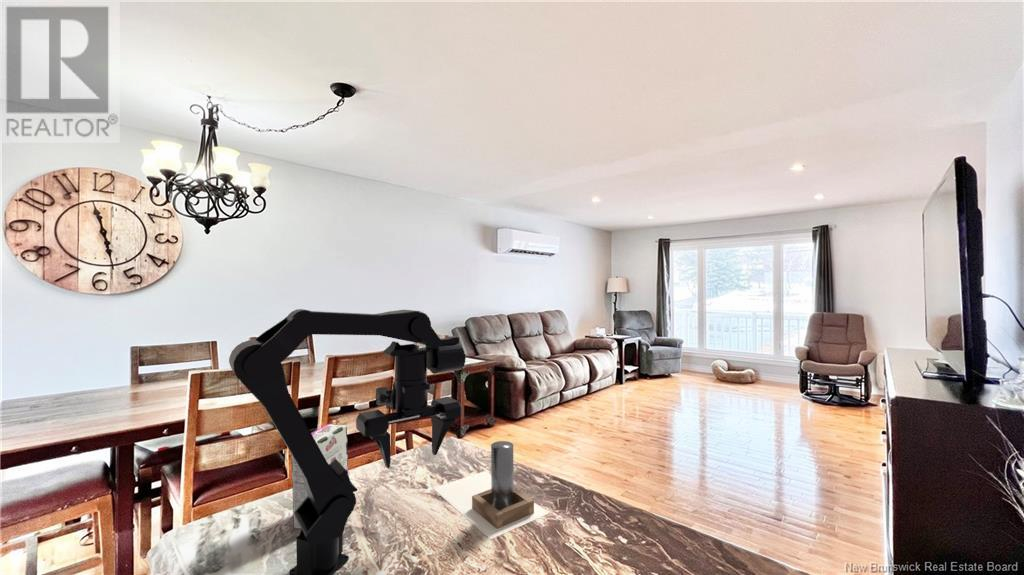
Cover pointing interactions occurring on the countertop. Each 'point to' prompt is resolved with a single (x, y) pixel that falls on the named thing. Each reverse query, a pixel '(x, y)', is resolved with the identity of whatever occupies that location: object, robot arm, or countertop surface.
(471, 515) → the board
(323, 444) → the candy bar box
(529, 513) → the square wooden frame
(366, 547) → the countertop surface
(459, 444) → the countertop surface
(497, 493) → the grey tall rounded cylinder
